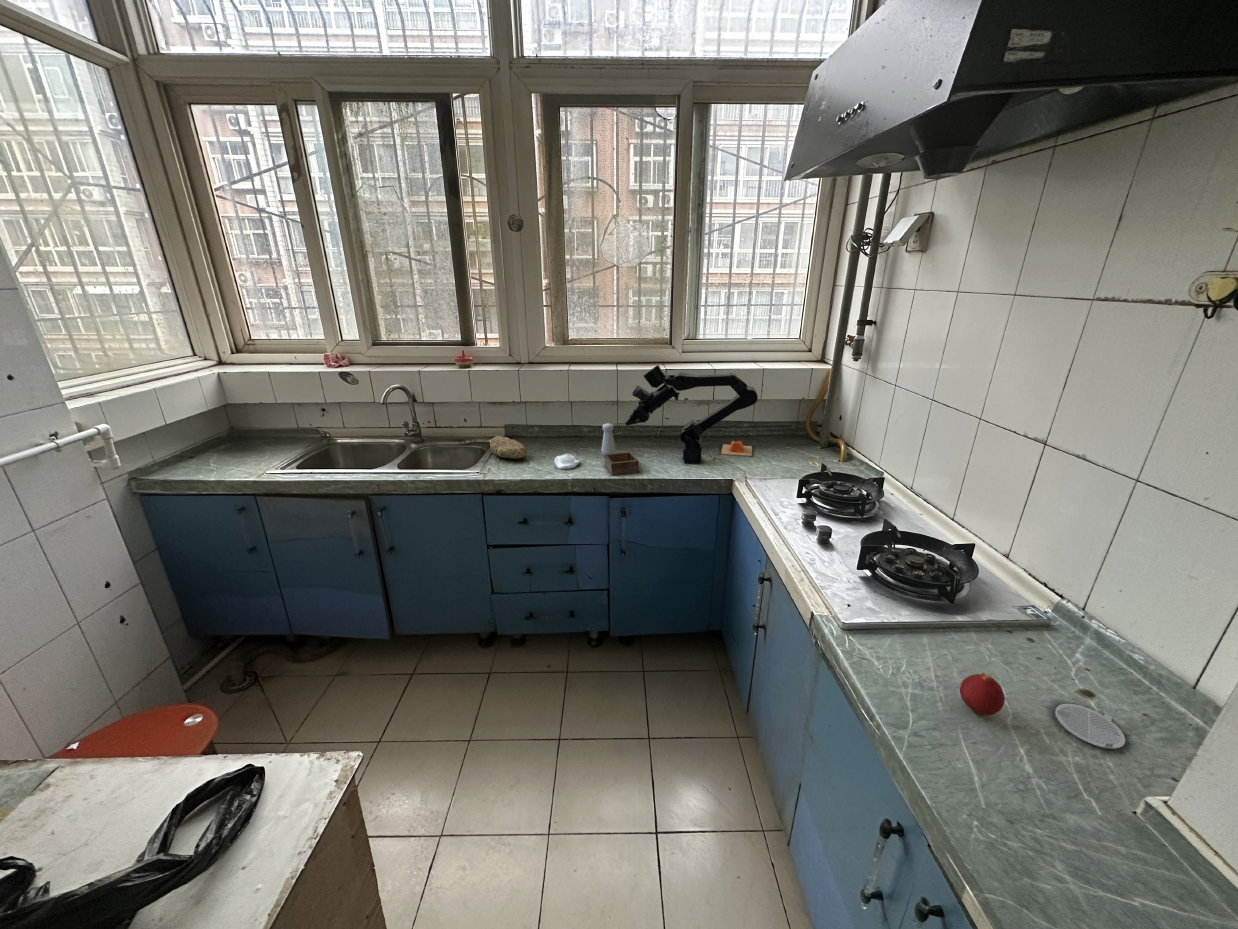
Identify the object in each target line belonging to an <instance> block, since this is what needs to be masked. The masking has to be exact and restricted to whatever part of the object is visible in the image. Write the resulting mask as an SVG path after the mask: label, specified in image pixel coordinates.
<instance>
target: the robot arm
mask: <svg viewBox="0 0 1238 929" xmlns="http://www.w3.org/2000/svg"><path fill="white" fill-rule="evenodd" d="M642 377H643V378H644V379H645V381H646V382H647V384H649V386H650V387H651V388H654V389H656V390H655V391H651V392H649V391H648V390H646V389H645V388H643V387H641V386H640V385H636V386H635V388H634V389H633V391H632V392H631V396H633V397H635V398H636V399H638V400H639V401H638V404H637V405H636V406H635V407H634V408H633V412H632V413H631V414H630V415H629V417H628V420H626V421H625V423H624V424H625V425H626V426H631V425H632V426H633V425H636V424H641V423H644V424H645V423H647V421H649V419H650V416H651V415H652V414H653V413H654V412H655V411H656V410H658V409H660V408H661V407H662V406H663V405H664V404H666V403H667V402H668V401H670V400H671V399H672V398H674V399H675V401H679V398H680V393H681V392H682V391H683V392H684V391H687V390H692V389H694V388H701V387H703V388H705V387H730V388H731V389H732V390H733V391H734V392H735V393H736V394H735V395H734V397H732V399H731V400H730V401H728V402H726V403H725V404H723V405H722V406H720V407H719V408H717V409H716V410H714V411H713V412H711V413H710V414H708V415H707V416H705V417H703V418H702V419H699V420H698V421H695V420H694V419H691V420H690V421H689V422H688V423H687V422H686V423H685V424H684V425H683V427H682V429H681V432H680V437H679V438H680V441H681V442H682V443H683V444H684V447H683V448H682V461H684V462H683V463H684V464H697V465H698V464H700V465H701V464H703V462H702V451H703V450H702V449H703V447H702V440H703V438H702V435H703V433H704V432H705V431H707V430H709V429H710V428H711V427H713V426H715V425H716V424H718V423H719V422H721V421H722V420H724V419H726V418H728V417H729V416H731V415H732V414H733V413H736V412H737V411H739V410H744V409H746V408H749V407H751V406H754V405H755V404H756V403H757V402H758V400H759V399H758V397H759V396H758V391H757V389H755V387H754V386H750V385H748V384H747V383H746V382H745V381H743V380H742V379H741V378H740V377H739V376H738V375H737V374H736V373H725V374H721V373H720V374H693V373H688V372H683V371H682V372H678V373H676V374H665V372H664V371H663V370H662V368H661V367H660V365H659V364H656V365H655V366H653V367H652V368H650V369H649V370H647V372H645V373H644V374H643V375H642Z"/></svg>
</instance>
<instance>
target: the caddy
mask: <svg viewBox="0 0 1238 929" xmlns="http://www.w3.org/2000/svg"><path fill="white" fill-rule="evenodd" d="M639 464H640V460H639V459H638V458H637V456H635V455H634V454H633V452H632V451H624V452H615V453H613V454H605V456H604V467H605V468H606V470H607V471H608V473H609V474H610V475H611V476H617V475H618V476H620V475H628V474H636V473H639V468H640V467H639V466H640V465H639Z"/></svg>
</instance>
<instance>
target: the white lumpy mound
mask: <svg viewBox="0 0 1238 929" xmlns="http://www.w3.org/2000/svg"><path fill="white" fill-rule="evenodd" d="M580 462H581V461H580V460H579V459H576V458H575V456H574V455H573V454H571V453H564V454H561V455H556V457H555V458H554V465H555V467H556V468H557V469H558V470H570V469H574V468H575V467H577V466H578V465H579V464H580Z"/></svg>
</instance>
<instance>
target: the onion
mask: <svg viewBox="0 0 1238 929" xmlns="http://www.w3.org/2000/svg"><path fill="white" fill-rule="evenodd" d="M959 694H960V697H961V700H962V702H964V704H965V705H966V706H967V707H968V708H969V709H970V710H971V711H972V712H973V713H974V714H978V715H982V716H992V715H996V714H997V713H999V712H1001V710H1002V709H1003V708H1004V705H1005V701H1006V697H1005V693H1004V691H1003V689H1002V686H1001V685H1000V684H999V682H997V681H996V679H994V678H993V677H992V676H991V675H990V673H987V672H981V673H975V674H970V675H968V676H967V677H965V678H964V679H962V680H961V683H960V686H959Z"/></svg>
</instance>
